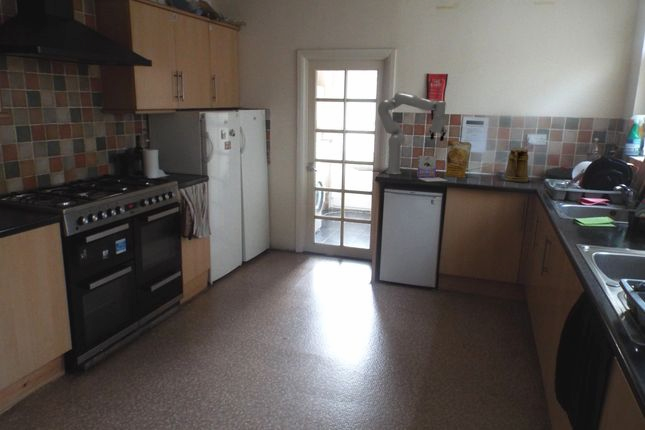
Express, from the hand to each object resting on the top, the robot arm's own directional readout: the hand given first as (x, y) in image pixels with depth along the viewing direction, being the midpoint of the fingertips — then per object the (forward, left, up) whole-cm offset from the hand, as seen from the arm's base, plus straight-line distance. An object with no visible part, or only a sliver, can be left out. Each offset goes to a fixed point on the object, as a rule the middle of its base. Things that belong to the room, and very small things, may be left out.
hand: (436, 140), depth 371 cm
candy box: (-1, -6, -29) cm, 30 cm away
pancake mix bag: (-1, +20, -29) cm, 36 cm away
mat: (+10, -6, -29) cm, 31 cm away
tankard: (+24, +57, -29) cm, 68 cm away
